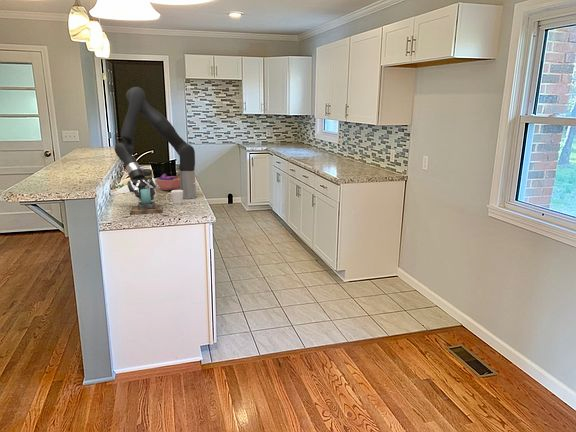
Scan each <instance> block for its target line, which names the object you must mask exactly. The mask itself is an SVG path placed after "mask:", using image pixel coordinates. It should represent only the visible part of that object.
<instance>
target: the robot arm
mask: <svg viewBox="0 0 576 432" xmlns="http://www.w3.org/2000/svg"><path fill="white" fill-rule="evenodd" d="M125 97H126V100H127V101H128V108H127V113H126V114H125V117H124V120H123V123H122V127H121V132H120V137H121V139H122V140H123V141H124V142H122V141H121V142H117V143H116V144H115V145H114V152H115V154H116V156H117V158H119V160H120V161H121V162H122V163H123V165H124V167H125V169H126V173H127V175H128V177H129V178H130V180H128V181H127V182H126V183H127V184H126V185H127V186H126V187H128V191H129V192H130V193H134V195H135V198H137V199H139V198H140V194H139V188H146V189H150V192H151V194H152V196H155V195H156V191H155V188H156V186H157V185H156V184H155V182H154V180H153V178H152V179H151V178H150V179H149V180H147V179H146V178H145V176H144V174H143V172H142V170H143V169H142V168H141V165H140V164H139V162H138V161H137V159H136V157H135V156H134V155H133V154H134V152H135V141H134V140H135V139H134V137H135V134H136V128H137V124H138V119H139V116H140V114H141V115H142V117H143V118H145V120H146V121H147V122H148V124H149V125H151V126H152V128H153V129H154V130H155V131H156V132H157V133H158V134H159V135H160V136H161V137H162V138H163V139H164V140H165V141H166V142H168V143H169V144H170V146H171V147H172V148H173V149H174V150H175V152H176V154H177V155H178V157H179V166H178V169H179V177H180V189H179V190H183V199H187V200H191V199H196V198H197V187H196V170H195V168H196V151H195V148H194V147H193V146H192V145H191V144H189V143H187V142H186V141H185V140H184V139H183V138H182V137H181V136H180V135H179V134H178V132H177V131H176V129H175V128H174V126H173V125H172V123H171V122H170V121H169V120H168V118H166V117H165V116H164V115H163V114H162V113H161V112H160V111H158V110H157V109H156V108H154V107H153V106H151V105H150V103H149V102H148V100H146V92H145V90H144V89H143V87H142V88H141V87H140V86H134V87H131V88H128V90H127V91H126V93H125ZM149 183H150V184H149ZM146 185H147V186H146ZM133 186H134V187H133ZM183 199H182V200H183Z"/></svg>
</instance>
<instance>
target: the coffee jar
mask: <svg viewBox="0 0 576 432" xmlns="http://www.w3.org/2000/svg"><path fill="white" fill-rule="evenodd" d="M141 170H142V172H143V174H144V176H145V178H146V179H147V180H149V179H150V178H151V179H152V180H153V171H152V170H151V169H150V168H144V169H141ZM149 184H150V183H149ZM146 186H147V185H146ZM141 189H146V188H138V192H139V194H140V198H138V199H139V200H140V201H141V192H140V190H141ZM150 196H151V200H153V199H154V198H155V197H154V196H155V195H154V196H152V194H151V192H150Z"/></svg>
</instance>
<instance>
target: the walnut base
mask: <svg viewBox="0 0 576 432" xmlns="http://www.w3.org/2000/svg"><path fill="white" fill-rule="evenodd" d="M148 213H155V214H162V213H163V204H156V201H155V200H154V201H152V200H151V204H149V205H142V204H141V201H138V203H137V205H132V206H131V208H130V216H131V215H133V216H134V215H135V214H136V215H149V214H148Z"/></svg>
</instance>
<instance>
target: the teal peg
mask: <svg viewBox="0 0 576 432" xmlns="http://www.w3.org/2000/svg"><path fill="white" fill-rule="evenodd" d="M140 192H141V200H140V202H141V204H142V205H149V204H151V201H152V199H151V196H150V189H141V190H140Z"/></svg>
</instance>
